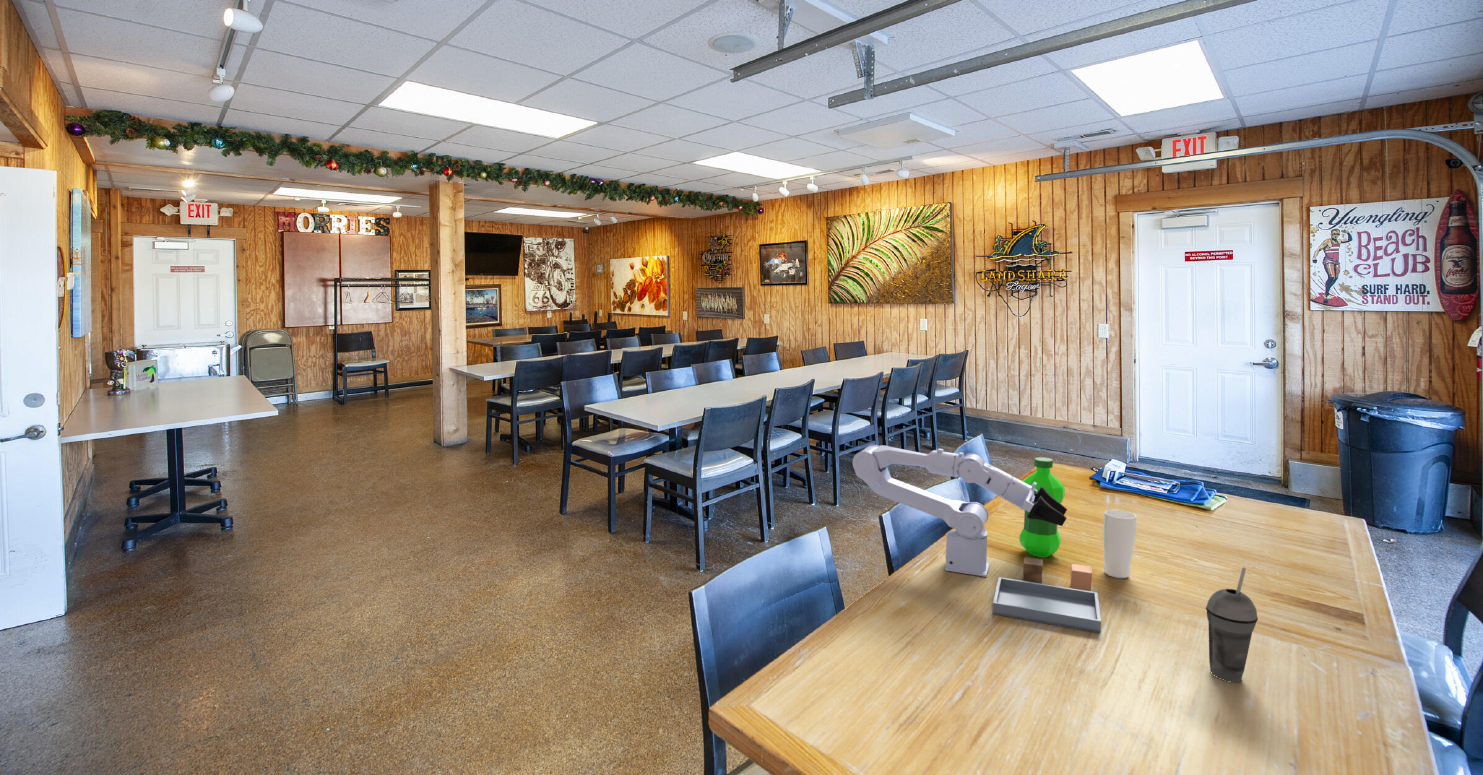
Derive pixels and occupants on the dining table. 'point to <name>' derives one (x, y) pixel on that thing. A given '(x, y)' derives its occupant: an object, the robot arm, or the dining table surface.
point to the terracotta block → (1081, 577)
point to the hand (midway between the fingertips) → (1064, 517)
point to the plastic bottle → (1038, 533)
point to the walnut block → (1032, 570)
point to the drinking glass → (1118, 542)
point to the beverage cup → (1230, 631)
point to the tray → (1047, 604)
